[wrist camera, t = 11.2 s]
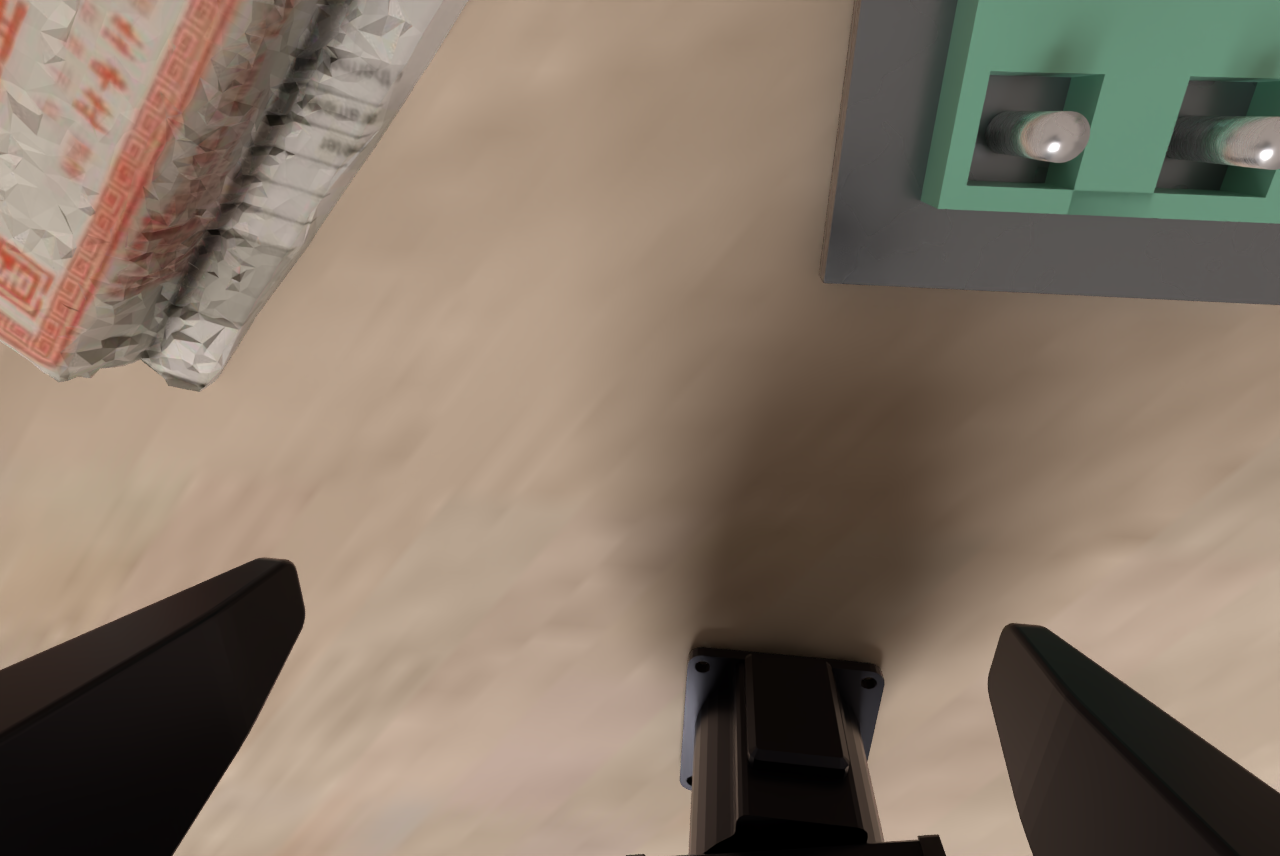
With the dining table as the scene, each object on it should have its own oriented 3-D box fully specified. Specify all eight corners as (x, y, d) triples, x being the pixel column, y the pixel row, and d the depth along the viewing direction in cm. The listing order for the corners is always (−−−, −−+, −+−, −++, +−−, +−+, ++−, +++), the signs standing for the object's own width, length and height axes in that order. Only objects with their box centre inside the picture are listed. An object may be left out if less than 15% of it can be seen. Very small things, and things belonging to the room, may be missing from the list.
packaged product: (107, 455, 18) (-276, 185, 16) (227, 389, 23) (-64, 169, 21) (518, -249, 12) (-52, -851, 10) (576, -149, 16) (193, -549, 14)
